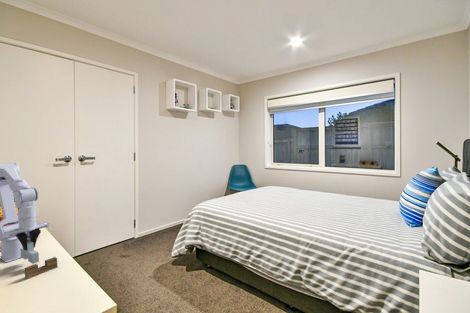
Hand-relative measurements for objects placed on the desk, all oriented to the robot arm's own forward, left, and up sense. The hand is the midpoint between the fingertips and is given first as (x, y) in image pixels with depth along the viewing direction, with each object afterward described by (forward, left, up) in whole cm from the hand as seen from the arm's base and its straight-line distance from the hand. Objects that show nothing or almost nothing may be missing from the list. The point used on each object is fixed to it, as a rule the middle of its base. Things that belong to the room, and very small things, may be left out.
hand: (29, 248), depth 99 cm
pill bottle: (-37, +12, -8) cm, 40 cm away
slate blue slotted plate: (0, 0, -5) cm, 5 cm away
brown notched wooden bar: (+11, 0, -8) cm, 13 cm away
